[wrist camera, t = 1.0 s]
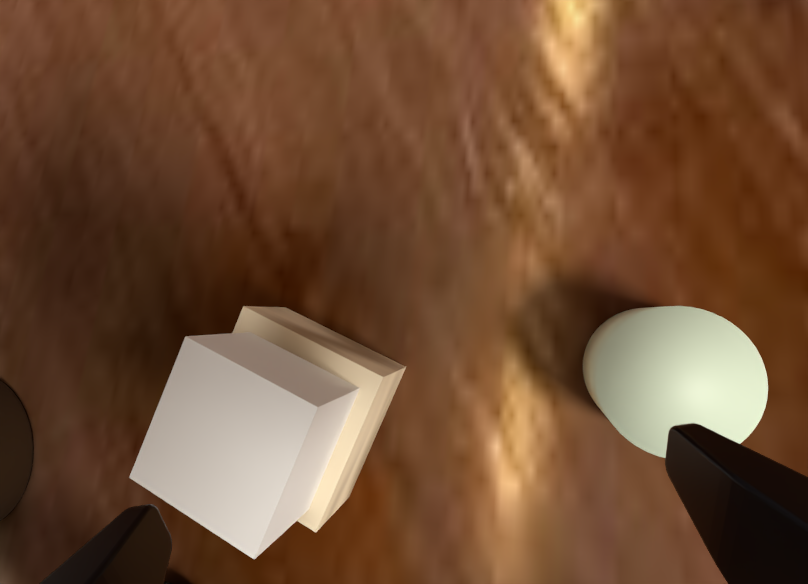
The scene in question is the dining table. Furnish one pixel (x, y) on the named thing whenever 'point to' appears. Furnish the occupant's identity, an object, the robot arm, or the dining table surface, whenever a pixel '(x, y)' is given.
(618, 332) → the pale green rounded cylinder
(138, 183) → the dining table surface
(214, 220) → the dining table surface
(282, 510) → the top block
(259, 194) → the dining table surface
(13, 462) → the brown tall bottle shape
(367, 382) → the base block
